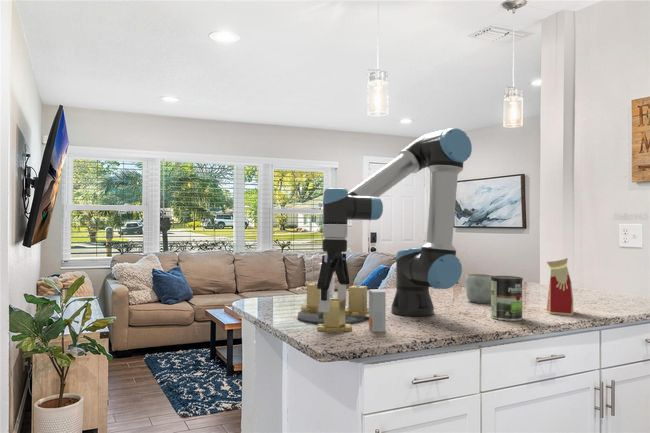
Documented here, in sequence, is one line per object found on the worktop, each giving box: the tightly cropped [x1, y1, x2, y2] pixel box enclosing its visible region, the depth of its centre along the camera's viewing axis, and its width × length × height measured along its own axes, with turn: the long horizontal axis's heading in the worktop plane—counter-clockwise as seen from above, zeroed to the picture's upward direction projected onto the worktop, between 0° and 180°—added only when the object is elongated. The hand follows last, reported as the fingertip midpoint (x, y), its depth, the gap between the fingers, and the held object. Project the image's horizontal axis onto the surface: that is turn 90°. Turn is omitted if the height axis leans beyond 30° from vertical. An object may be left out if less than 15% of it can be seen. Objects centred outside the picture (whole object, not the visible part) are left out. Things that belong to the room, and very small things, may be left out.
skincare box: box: [368, 288, 387, 333], centre depth 158 cm, size 6×4×12 cm
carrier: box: [297, 281, 369, 325], centre depth 177 cm, size 27×23×11 cm
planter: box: [465, 273, 497, 304], centre depth 213 cm, size 12×12×11 cm
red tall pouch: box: [545, 257, 574, 317], centre depth 188 cm, size 9×9×20 cm
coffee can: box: [490, 275, 524, 322], centre depth 177 cm, size 10×10×14 cm
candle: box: [318, 262, 336, 299], centre depth 219 cm, size 7×7×15 cm
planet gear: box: [316, 298, 353, 334], centre depth 158 cm, size 11×11×9 cm
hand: (333, 308), depth 158 cm, fingers open, 13 cm apart
